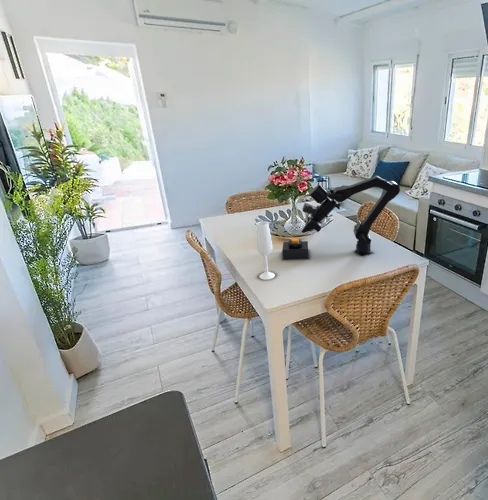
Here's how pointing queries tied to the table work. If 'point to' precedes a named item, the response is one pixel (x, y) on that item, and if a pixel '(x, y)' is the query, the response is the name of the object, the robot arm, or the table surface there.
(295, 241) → the switch button
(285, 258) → the switch box
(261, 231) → the champagne flute
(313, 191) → the robot arm
